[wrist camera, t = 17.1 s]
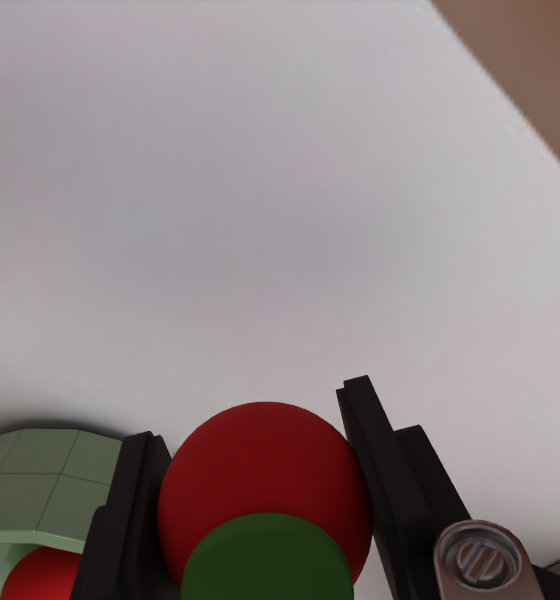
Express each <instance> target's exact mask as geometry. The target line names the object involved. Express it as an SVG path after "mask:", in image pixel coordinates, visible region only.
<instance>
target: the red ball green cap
mask: <svg viewBox="0 0 560 600" xmlns="http://www.w3.org/2000/svg"><path fill="white" fill-rule="evenodd" d="M81 556H82V554H80V553H75V552H71V551H66V550H61V549H57V548H52V547H48V546H42V547H39V548H37V549H35V550H33V551H32V552H30V553H28V554H27V555H26V556H24V557H23V558H22V559H21V560H20V561H19V562H18V563H17V564H16V565H15V566H14V568H13V569H12V570H11V572H10V573H9V575H8V577H7V579H6V581H5V583H4V585H3V588H2V592H1V597H0V600H69V597H70V594H71V590H72V587H73V583H74V580H75V576H76V573H77V569H78V566H79V563H80V559H81Z"/></svg>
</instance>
